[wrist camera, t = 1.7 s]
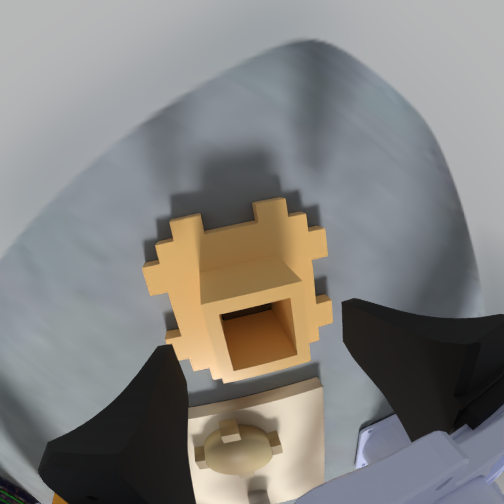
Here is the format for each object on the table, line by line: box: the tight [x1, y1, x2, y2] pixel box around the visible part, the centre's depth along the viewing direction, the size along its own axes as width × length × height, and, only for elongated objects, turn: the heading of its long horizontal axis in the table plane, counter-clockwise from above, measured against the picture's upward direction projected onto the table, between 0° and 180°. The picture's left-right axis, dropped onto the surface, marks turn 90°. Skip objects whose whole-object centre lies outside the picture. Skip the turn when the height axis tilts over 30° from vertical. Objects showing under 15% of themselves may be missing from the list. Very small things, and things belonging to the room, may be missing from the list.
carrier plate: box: [188, 377, 324, 504], centre depth 19 cm, size 14×18×4 cm
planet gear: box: [142, 197, 333, 383], centre depth 15 cm, size 10×10×5 cm
